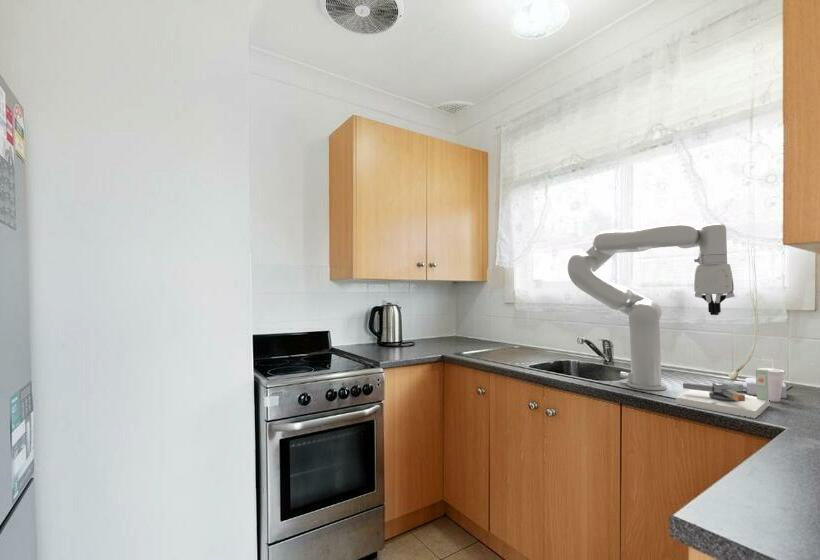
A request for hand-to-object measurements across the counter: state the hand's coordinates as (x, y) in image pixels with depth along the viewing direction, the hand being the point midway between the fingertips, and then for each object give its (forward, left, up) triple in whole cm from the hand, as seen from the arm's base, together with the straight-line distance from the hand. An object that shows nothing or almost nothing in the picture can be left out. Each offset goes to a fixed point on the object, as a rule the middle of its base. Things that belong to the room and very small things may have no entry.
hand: (714, 314), depth 133 cm
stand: (+4, -12, -27) cm, 30 cm away
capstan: (+5, -15, -25) cm, 29 cm away
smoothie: (+13, +6, -27) cm, 31 cm away
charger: (+7, +13, -28) cm, 31 cm away
